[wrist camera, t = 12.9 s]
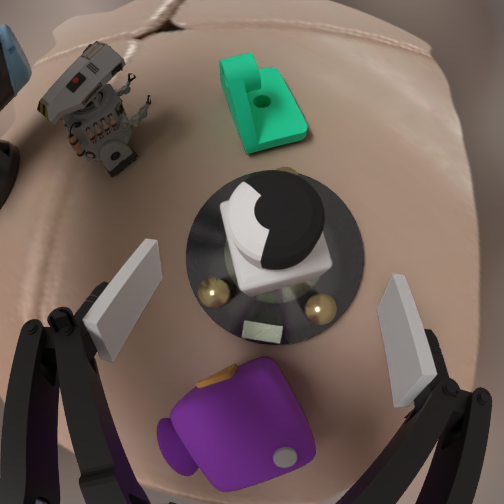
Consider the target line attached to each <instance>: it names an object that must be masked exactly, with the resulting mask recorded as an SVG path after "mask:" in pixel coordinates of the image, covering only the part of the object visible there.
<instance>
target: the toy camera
mask: <svg viewBox="0 0 504 504" xmlns="http://www.w3.org/2000/svg"><path fill="white" fill-rule="evenodd" d="M170 417H171V418H163V419H161V420H160V421H159V423H158V426H157V439H158V444H159V447H160V450H161V452H162V455H163V457H164V458H165V460H166V461H167V463H168V464H169V465H170V466H171V468H172V469H174V470H175V471H176V472H177V473H179V474H181V475H184V476H190V475H192V474H194V473H195V472H196V471H197V469H198V468H200V469H201V471H202V472H203V474H204V475H205V476H206V478H207V479H208V480H209V481H210V483H211V484H212V485H213V486H214V487H215V488H216V489H218V490H219V491H222V492H230V491H235V490H239V489H243V488H246V487H249V486H253V485H256V484H259V483H262V482H264V481H267V480H270V479H273V478H275V477H278V476H281V475H283V474H286V473H288V472H291V471H293V470H295V469H298V468H300V467H302V466H304V465H306V464H307V463H309V462H310V461H312V460H313V458H314V457H315V454H316V447H315V442H314V438H313V435H312V432H311V429H310V426H309V423H308V420H307V418H306V416H305V414H304V412H303V410H302V408H301V406H300V404H299V403H298V401H297V399H296V397H295V395H294V394H293V392H292V390H291V388H290V386H289V384H288V383H287V381H286V379H285V377H284V375H283V374H282V372H281V370H280V368H279V367H278V365H277V364H276V363H275V362H274V361H273V360H272V359H271V358H269V357H260V358H257V359H254V360H252V361H250V362H247V363H245V364H243V365H241V366H239V367H237V365H236V364H233V365H231V366H229V367H227V368H226V369H224V370H222V371H220V372H218V373H216V374H214V375H212V376H210V377H208V378H206V379H204V380H202V381H200V382H198V383H196V387H195V388H193V389H192V390H191V391H190V392H189V393H187V394H186V395H185V396H184V397H183V398H182V399H181V400H180V401H179V402H178V403H177V404H176V405H175V406H174V407H173V409H172V411H171V414H170Z"/></svg>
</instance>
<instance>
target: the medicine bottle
mask: <svg viewBox="0 0 504 504" xmlns="http://www.w3.org/2000/svg"><path fill="white" fill-rule="evenodd" d="M220 210H221V214H222V219H223V223H224V227H225V232H226V236H227V240H228V245H229V249H230V253H231V257H232V261H233V266H234V270H235V274H236V278H237V282H238V286H239V289H240V290H241V291H242V292H244V293H245V294H246V295H248V296H254V295H258V294H262V293H266V292H270V291H273V290H277V289H281V288H285V287H289V286H292V285H296V284H300V283H303V282H307V281H311V280H314V279H317V278H319V277H320V276H321V275H322V274H324V273H325V272H326V271H327V270H329V269H330V268H331V267H332V260H331V257H330V253H329V250H328V247H327V243H326V240H325V237H324V234H323V228H324V224H325V211H324V207H323V203H322V200H321V198H320V196H319V194H318V193H317V191H316V190H315V189H314V187H313V186H312V185H311V184H310V183H309V182H307V181H306V180H305V179H303V178H301V177H300V176H298V175H295V174H293V173H290V172H286V171H280V170H271V171H264V172H260V173H257V174H255V175H252V176H251V177H249V178H247V179H246V180H244V181H243V182H242V183H241V184H240V185H239V186H238V187H237V188H236V189H235V190H234V192H233V194H232V195H231V197H230V199H229V200H228V201H224V202H222V203H221V204H220Z"/></svg>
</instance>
